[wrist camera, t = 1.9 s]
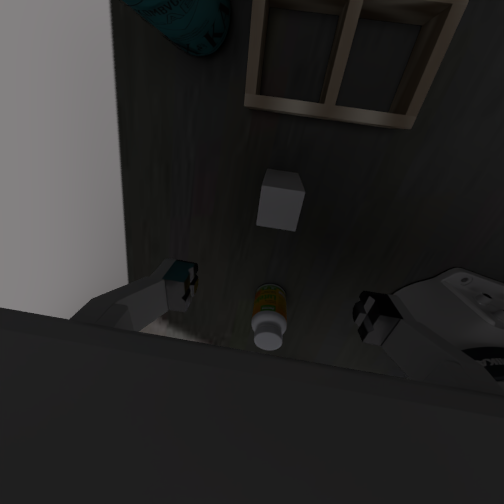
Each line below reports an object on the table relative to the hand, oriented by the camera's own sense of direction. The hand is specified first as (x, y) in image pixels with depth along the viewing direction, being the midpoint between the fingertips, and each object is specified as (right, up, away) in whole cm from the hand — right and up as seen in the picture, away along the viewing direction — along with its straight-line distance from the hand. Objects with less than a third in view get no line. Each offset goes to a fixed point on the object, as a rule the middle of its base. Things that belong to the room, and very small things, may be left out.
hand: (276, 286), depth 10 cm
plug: (+2, +10, +17) cm, 20 cm away
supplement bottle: (+2, -6, +27) cm, 28 cm away
